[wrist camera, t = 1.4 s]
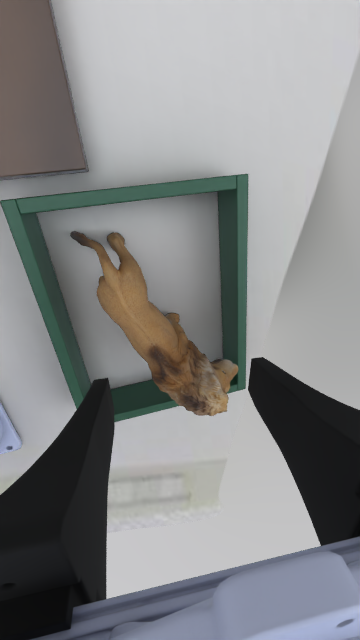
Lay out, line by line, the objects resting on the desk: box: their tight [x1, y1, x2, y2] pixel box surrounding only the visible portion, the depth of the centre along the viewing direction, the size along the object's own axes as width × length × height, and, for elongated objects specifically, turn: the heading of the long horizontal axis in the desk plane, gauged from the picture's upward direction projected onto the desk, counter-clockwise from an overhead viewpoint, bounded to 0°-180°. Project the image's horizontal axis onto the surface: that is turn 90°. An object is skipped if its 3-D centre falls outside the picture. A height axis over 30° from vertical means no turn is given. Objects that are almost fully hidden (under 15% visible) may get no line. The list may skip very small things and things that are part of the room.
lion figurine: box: [70, 231, 238, 416], centre depth 18 cm, size 15×5×9 cm, turn 39°
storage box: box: [0, 174, 248, 422], centre depth 21 cm, size 15×18×4 cm
